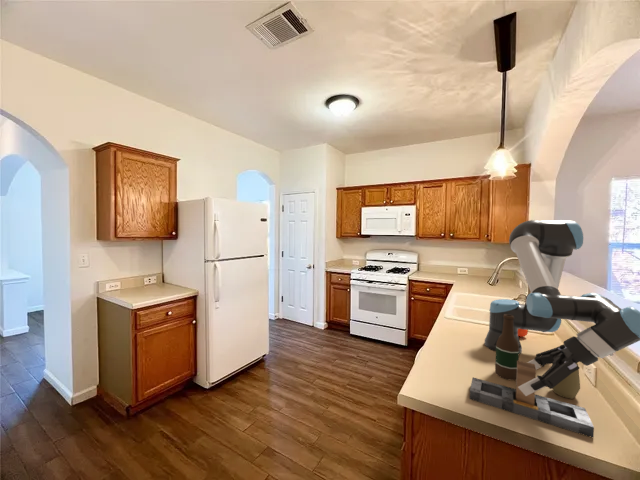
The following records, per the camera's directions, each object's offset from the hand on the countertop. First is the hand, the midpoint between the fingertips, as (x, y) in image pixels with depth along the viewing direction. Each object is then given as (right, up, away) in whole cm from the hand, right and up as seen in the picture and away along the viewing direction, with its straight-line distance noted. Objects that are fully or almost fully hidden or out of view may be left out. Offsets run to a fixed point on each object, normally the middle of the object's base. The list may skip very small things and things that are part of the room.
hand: (520, 381), depth 88 cm
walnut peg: (+1, -8, 0) cm, 9 cm away
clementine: (+45, -8, +61) cm, 76 cm away
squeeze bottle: (+21, -9, +8) cm, 24 cm away
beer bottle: (+9, -8, +20) cm, 23 cm away
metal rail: (+1, -8, 0) cm, 9 cm away
